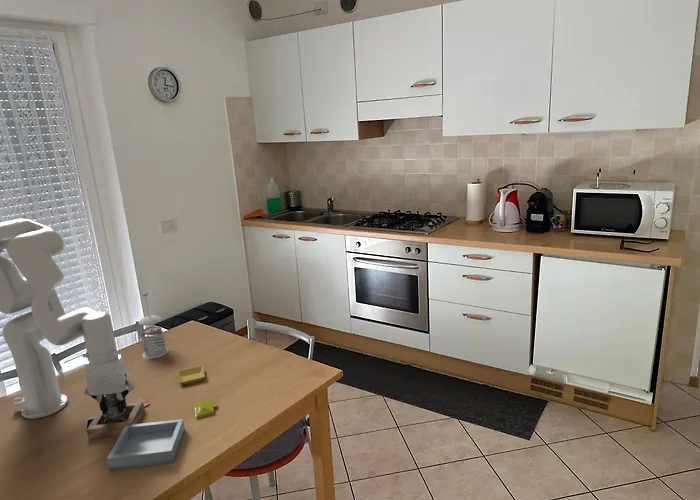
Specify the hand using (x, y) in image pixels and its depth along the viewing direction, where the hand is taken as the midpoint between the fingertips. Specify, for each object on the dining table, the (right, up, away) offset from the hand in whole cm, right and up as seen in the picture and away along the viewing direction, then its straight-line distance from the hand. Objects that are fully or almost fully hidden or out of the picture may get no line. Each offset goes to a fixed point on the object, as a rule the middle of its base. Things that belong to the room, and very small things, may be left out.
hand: (114, 410), depth 142 cm
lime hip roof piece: (+25, -3, +6) cm, 26 cm away
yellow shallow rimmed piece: (+15, +2, +25) cm, 29 cm away
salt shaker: (0, -4, +1) cm, 5 cm away
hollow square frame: (+1, -4, +1) cm, 4 cm away
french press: (-7, +7, +45) cm, 46 cm away
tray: (+15, -7, -11) cm, 20 cm away
